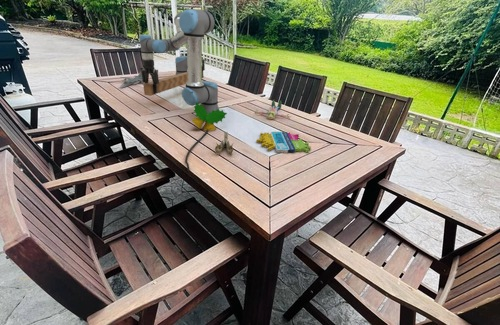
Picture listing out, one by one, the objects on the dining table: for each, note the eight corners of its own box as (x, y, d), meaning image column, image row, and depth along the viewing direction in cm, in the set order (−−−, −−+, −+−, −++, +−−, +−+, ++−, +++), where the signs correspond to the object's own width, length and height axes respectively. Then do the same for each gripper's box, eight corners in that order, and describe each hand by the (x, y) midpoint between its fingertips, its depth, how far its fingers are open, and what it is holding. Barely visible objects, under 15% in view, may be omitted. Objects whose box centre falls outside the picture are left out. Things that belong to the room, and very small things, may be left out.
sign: (313, 150, 142) (258, 149, 139) (312, 153, 143) (258, 152, 140) (301, 132, 164) (254, 130, 161) (301, 134, 165) (254, 133, 162)
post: (150, 95, 188) (149, 84, 185) (144, 94, 190) (143, 83, 186) (203, 77, 252) (203, 69, 249) (198, 77, 254) (198, 68, 250)
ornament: (218, 133, 171) (224, 110, 169) (221, 134, 163) (227, 111, 161) (186, 125, 162) (192, 101, 160) (189, 126, 155) (195, 101, 153)
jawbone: (234, 135, 144) (233, 125, 135) (233, 160, 138) (232, 151, 129) (217, 135, 144) (216, 125, 135) (216, 160, 138) (214, 150, 129)
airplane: (115, 80, 258) (112, 69, 253) (148, 78, 271) (147, 68, 266) (118, 90, 229) (115, 78, 224) (155, 87, 243) (153, 76, 238)
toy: (294, 102, 205) (291, 112, 179) (293, 111, 208) (289, 122, 182) (260, 97, 210) (251, 107, 184) (259, 106, 213) (250, 117, 187)
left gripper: (208, 52, 238) (208, 78, 249) (191, 50, 243) (192, 75, 254) (204, 52, 232) (204, 79, 243) (186, 50, 237) (187, 77, 248)
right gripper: (162, 60, 182) (165, 93, 194) (141, 57, 187) (145, 89, 199) (155, 61, 176) (159, 95, 187) (133, 58, 181) (138, 92, 192)
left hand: (198, 77), depth 249 cm, fingers closed on post, 5 cm apart
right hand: (152, 92), depth 193 cm, fingers closed on post, 5 cm apart
